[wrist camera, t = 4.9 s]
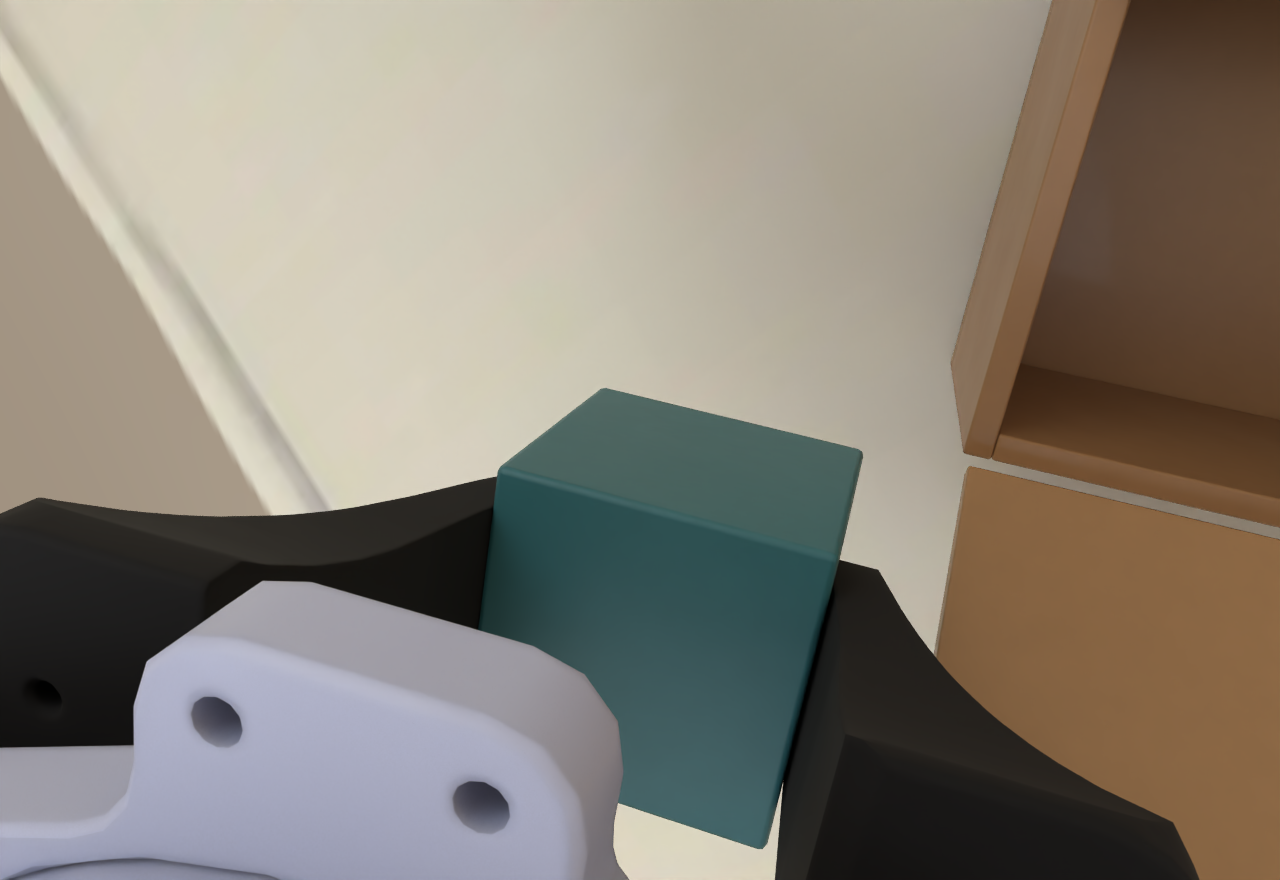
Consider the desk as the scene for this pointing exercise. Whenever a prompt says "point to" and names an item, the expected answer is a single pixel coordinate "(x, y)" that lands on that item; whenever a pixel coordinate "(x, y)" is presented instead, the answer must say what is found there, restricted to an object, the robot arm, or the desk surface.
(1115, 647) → the flap
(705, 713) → the block
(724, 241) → the desk surface
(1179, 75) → the carton
